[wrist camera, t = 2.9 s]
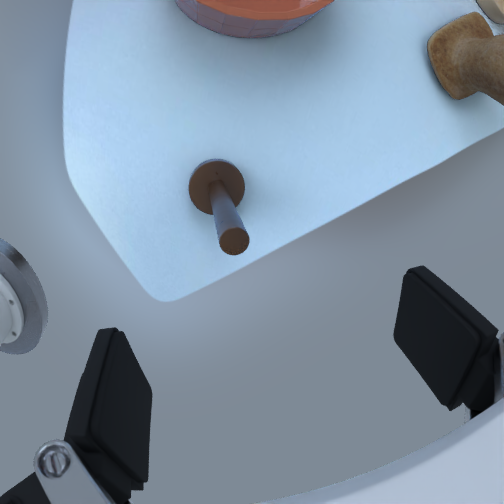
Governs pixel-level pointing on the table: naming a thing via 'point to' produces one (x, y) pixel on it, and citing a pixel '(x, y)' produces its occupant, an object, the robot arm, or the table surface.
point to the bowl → (251, 15)
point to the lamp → (493, 9)
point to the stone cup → (468, 58)
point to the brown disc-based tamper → (221, 201)
